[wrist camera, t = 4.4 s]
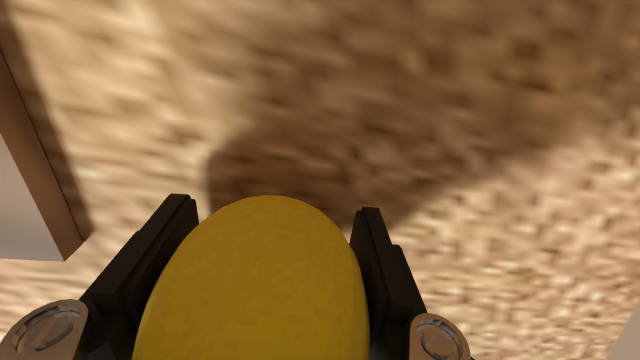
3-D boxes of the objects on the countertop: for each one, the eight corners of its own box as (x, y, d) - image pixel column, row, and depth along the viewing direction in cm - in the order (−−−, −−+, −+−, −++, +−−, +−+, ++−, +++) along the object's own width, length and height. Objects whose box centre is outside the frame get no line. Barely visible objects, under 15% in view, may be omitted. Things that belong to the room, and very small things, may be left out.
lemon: (353, 154, 10) (467, 492, 3) (343, 265, 12) (386, 575, 5) (194, 152, 9) (-132, 515, 2) (220, 266, 12) (100, 588, 5)
